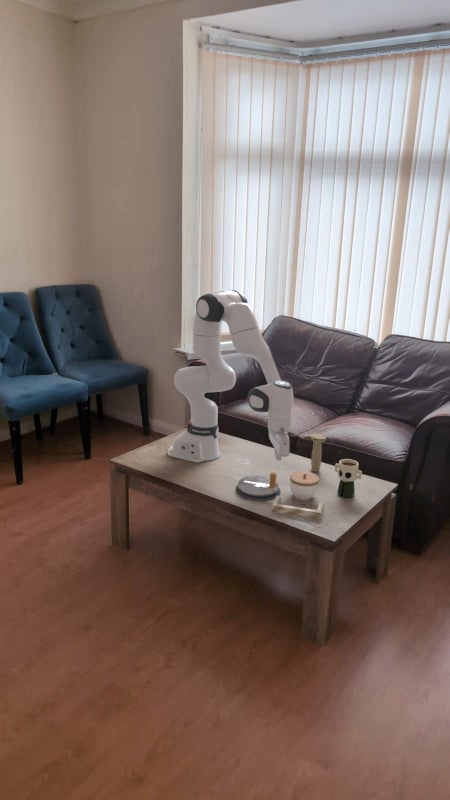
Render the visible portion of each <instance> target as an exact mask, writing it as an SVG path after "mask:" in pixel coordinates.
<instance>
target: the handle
mask: <svg viewBox="0 0 450 800" xmlns="http://www.w3.org/2000/svg"><path fill="white" fill-rule="evenodd" d="M309 438H310V440H312V441H313V445H312V452H311V456H310V457H311V460H310V464H311V467H310V469H311V471H312V473H313V472H314V473H315V472H316V473H318V472H320V470H321V468H320V467H321V463H322V447H323V446H322V445H323V444H322V443H324V442H325V441H326V440H327V436H326V435H325V434H324V435H323V434H319V433H311V434H310V436H309Z"/></svg>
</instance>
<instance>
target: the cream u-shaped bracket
mask: <svg viewBox="0 0 450 800" xmlns="http://www.w3.org/2000/svg"><path fill="white" fill-rule="evenodd" d="M281 502H282V496H281V495H279V496H277V497H276V498H274V501H273V504H272V507H271V508H272V509H271V512H272V513H278V514H279V513H280V514H284V515H290V516H296V517H303V518H310V519H315V520H321V518H322V515H323V513H324V512H323V511H324V509H325V508H324V505H325V504H324V502H320V501H319V503H318V507H317V509H310V508H304V507H300V506H299V507H298V506H292V505H287V504H286V505H285V504H281Z"/></svg>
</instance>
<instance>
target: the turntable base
mask: <svg viewBox="0 0 450 800" xmlns="http://www.w3.org/2000/svg"><path fill="white" fill-rule="evenodd" d="M235 493H236V494H237V495H238V496H240V497H241V498H244V499H245V500H246V499H247V500H250V501H256V502H257V501H260V502H262V501H264V502H265V501H272V500H275V499H276V497H277V496H281V493H282V490H281V488H280V487H279V486H278V492H277V493H276V494H275V495H273V496H271V497H266V498H255V497H250V496H246V495H244V494H242V493H241V492H240V491H239V490H238V484H236V486H235Z"/></svg>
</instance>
